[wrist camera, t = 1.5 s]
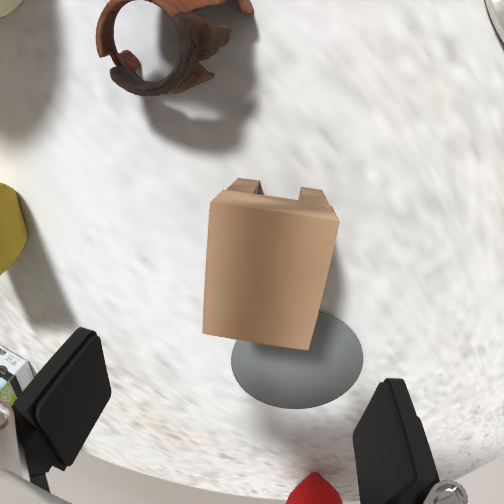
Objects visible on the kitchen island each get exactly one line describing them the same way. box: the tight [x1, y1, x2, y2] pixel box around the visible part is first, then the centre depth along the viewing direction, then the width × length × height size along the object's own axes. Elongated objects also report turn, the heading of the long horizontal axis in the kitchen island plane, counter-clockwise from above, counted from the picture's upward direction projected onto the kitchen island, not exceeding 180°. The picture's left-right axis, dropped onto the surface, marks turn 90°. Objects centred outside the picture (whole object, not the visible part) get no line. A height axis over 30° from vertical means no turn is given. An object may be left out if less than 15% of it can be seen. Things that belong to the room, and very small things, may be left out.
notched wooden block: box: [203, 178, 340, 350], centre depth 20 cm, size 6×8×8 cm
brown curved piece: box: [96, 0, 254, 96], centre depth 16 cm, size 12×10×8 cm
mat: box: [231, 312, 363, 409], centre depth 27 cm, size 12×12×1 cm
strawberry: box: [286, 473, 343, 504], centre depth 31 cm, size 6×8×10 cm
